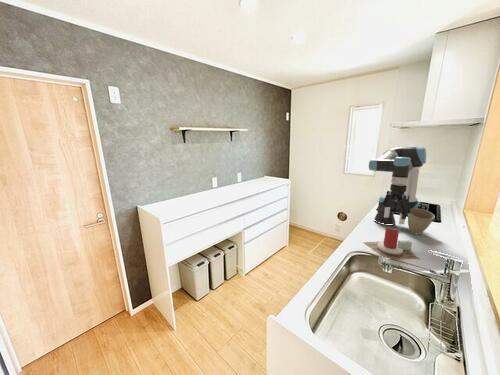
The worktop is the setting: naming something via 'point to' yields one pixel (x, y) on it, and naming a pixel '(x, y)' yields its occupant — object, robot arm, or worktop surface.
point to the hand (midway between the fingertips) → (393, 220)
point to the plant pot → (419, 220)
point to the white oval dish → (398, 250)
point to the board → (395, 257)
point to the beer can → (391, 237)
